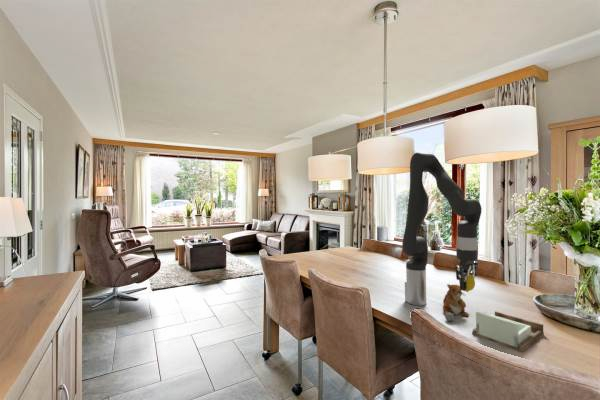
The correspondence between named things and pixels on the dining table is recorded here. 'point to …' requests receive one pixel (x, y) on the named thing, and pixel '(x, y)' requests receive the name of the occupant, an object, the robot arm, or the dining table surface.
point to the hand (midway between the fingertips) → (466, 288)
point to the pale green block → (502, 329)
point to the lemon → (469, 283)
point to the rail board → (535, 327)
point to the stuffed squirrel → (454, 301)
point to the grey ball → (449, 316)
